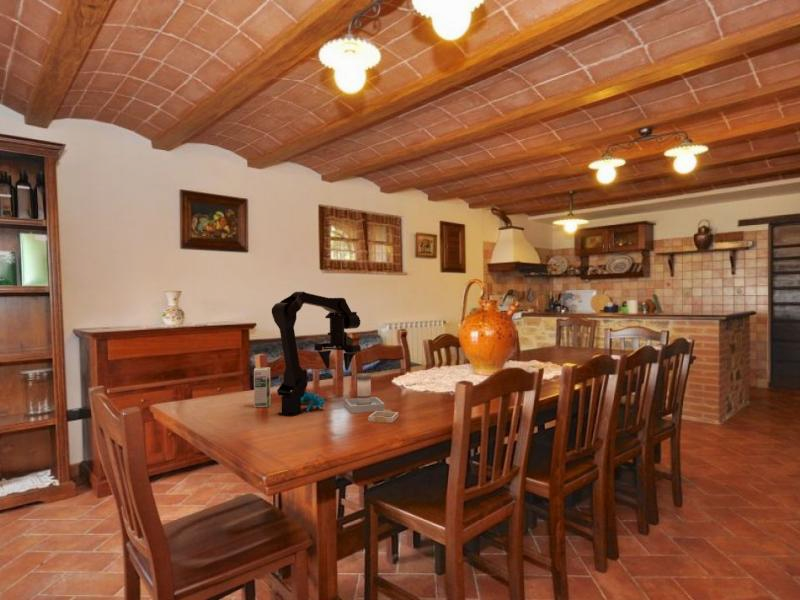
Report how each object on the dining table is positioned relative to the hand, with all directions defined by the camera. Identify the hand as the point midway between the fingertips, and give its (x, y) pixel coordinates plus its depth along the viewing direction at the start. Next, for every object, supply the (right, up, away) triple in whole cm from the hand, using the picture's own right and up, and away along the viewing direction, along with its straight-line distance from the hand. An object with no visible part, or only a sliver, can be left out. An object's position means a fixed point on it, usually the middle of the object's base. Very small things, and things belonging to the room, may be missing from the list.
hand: (337, 369), depth 184 cm
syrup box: (-28, -13, -5) cm, 31 cm away
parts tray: (+11, -13, -10) cm, 20 cm away
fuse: (+11, -12, -10) cm, 19 cm away
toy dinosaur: (-8, -13, -12) cm, 20 cm away
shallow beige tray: (+19, -13, -25) cm, 34 cm away
